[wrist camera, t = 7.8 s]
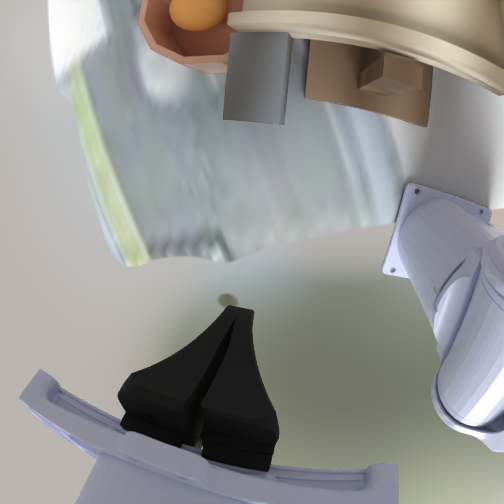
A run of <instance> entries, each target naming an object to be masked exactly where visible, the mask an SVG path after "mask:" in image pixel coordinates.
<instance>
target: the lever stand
mask: <svg viewBox="0 0 504 504" xmlns="http://www.w3.org/2000/svg"><path fill="white" fill-rule="evenodd" d="M432 74H433V66H432V65H429V64H426V63H423V62H420V61H417V60H414V59H411V58H407V57H404V56H400V55H397V54H393V53H389V52H385V51H381V50H376V49H372V48H367V47H362V46H357V45H351V44H345V43H339V42H331V41H323V40H314V39H310V50H309V61H308V71H307V81H306V91H305V98H306V99H313V100H319V101H325V102H330V103H336V104H341V105H345V106H350V107H355V108H359V109H363V110H367V111H372V112H375V113H379V114H383V115H387V116H390V117H394V118H397V119H400V120H404V121H407V122H410V123H413V124H416V125H419V126H422V127H427V123H428V116H429V108H430V99H431V88H432Z"/></svg>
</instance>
